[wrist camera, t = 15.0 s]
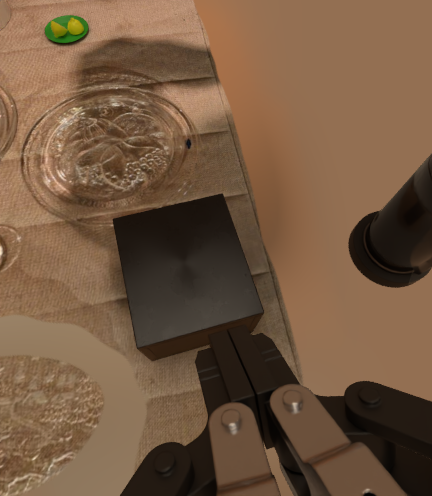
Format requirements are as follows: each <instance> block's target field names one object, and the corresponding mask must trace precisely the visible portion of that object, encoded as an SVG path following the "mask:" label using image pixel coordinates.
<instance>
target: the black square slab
mask: <svg viewBox="0 0 432 496" xmlns="http://www.w3.org/2000/svg"><path fill="white" fill-rule="evenodd" d="M113 224H114V229H115V235H116V240H117V245H118V251H119V256H120V261H121V267H122V272H123V277H124V283H125V288H126V293H127V299H128V304H129V309H130V314H131V320H132V325H133V330H134V336H135V341H136V346H137V349H138V350H140V349H143V348H147V347H150V346H154V345H157V344H161V343H164V342H168V341H171V340H175V339H178V338H182V337H185V336H189V335H192V334H196V333H199V332H203V331H206V330H210V329H213V328H217V327H220V326H224V325H228V324H231V323H235V322H238V321H242V320H245V319H249V318H252V317H256V316H259V315H263V314H264V310H263V307H262V304H261V301H260V299H259V296H258V293H257V290H256V287H255V284H254V281H253V278H252V276H251V273H250V270H249V267H248V264H247V261H246V258H245V256H244V253H243V250H242V247H241V244H240V241H239V238H238V236H237V233H236V230H235V227H234V224H233V221H232V218H231V216H230V213H229V210H228V207H227V204H226V201H225V198H224V195H223V194H218V195H214V196H209V197H205V198H201V199H196V200H192V201H188V202H183V203H179V204H175V205H170V206H166V207H162V208H157V209H153V210H149V211H144V212H140V213H136V214H132V215H127V216H123V217H119V218H114V219H113Z"/></svg>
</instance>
